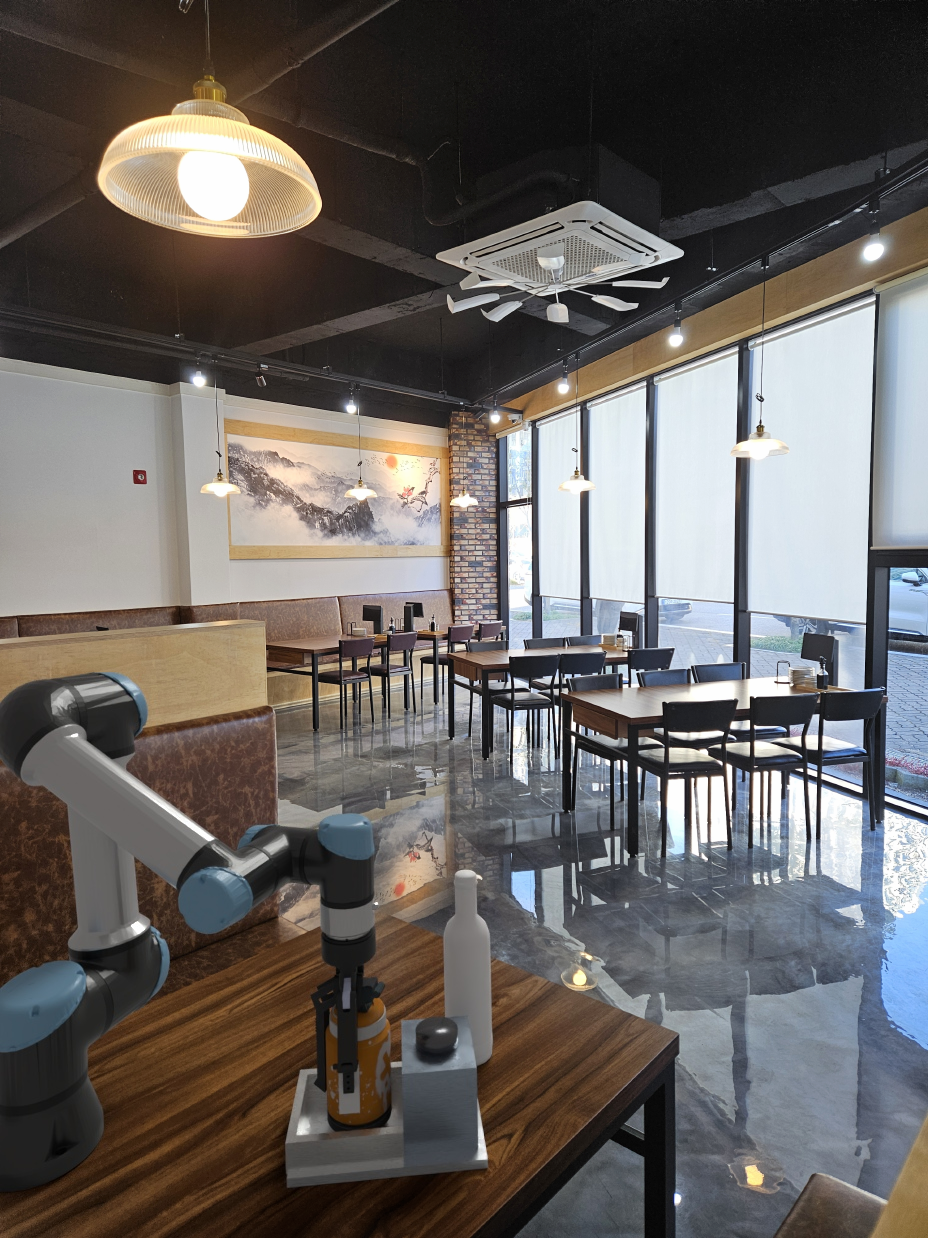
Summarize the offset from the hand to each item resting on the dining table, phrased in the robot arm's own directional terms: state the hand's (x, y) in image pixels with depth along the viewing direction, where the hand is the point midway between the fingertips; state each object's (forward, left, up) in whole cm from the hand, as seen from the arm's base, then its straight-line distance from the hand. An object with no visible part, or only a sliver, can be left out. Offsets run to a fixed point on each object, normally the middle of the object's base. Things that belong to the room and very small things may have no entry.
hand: (352, 1087), depth 99 cm
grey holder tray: (+5, 0, -7) cm, 9 cm away
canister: (0, 0, -5) cm, 5 cm away
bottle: (+18, +16, -7) cm, 25 cm away
